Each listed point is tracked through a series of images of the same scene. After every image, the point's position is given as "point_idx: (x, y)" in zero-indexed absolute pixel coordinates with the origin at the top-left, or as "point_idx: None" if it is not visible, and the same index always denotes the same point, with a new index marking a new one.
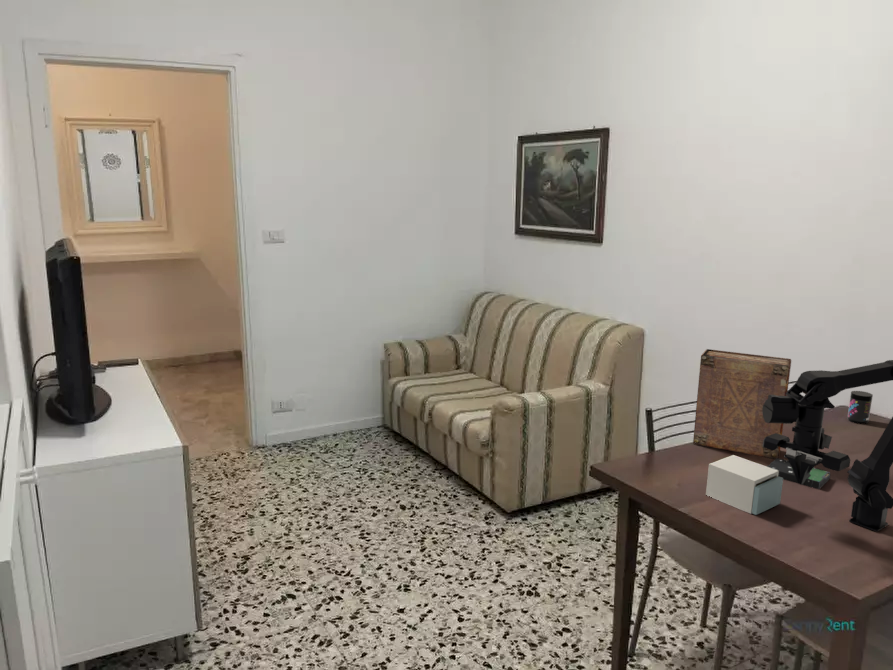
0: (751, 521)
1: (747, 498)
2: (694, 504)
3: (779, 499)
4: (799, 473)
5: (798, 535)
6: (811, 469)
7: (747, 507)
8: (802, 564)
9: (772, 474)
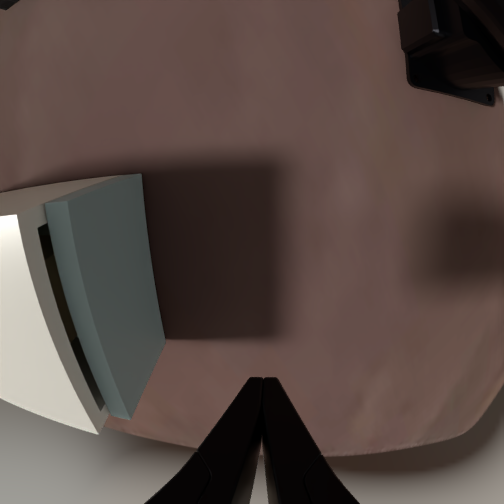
0: (186, 377)
1: None
2: None
3: (132, 187)
4: (252, 479)
5: (328, 351)
6: (339, 491)
7: None
8: (382, 439)
9: (40, 290)
